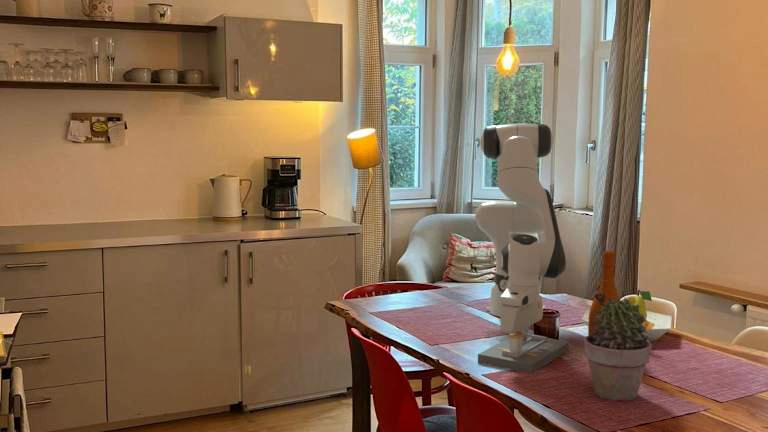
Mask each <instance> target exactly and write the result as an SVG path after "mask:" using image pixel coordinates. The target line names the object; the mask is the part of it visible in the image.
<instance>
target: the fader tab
mask: <svg viewBox="0 0 768 432" xmlns="http://www.w3.org/2000/svg"><path fill="white" fill-rule="evenodd" d="M507 335H508V338H509V351H513V352H518V353H521V352H522V336H523V334H522V333H514V334H509V333H508V334H507Z"/></svg>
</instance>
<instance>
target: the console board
mask: <svg viewBox="0 0 768 432" xmlns="http://www.w3.org/2000/svg"><path fill="white" fill-rule="evenodd" d="M569 350H570V341H567V340H564V339H563V340H561V339H556V338H549V337H547V336H543V335H537V334H533V333H532V334H528V335H527V341H526V342H524V343H522V352H521V353H518V352H513V351H509V337H508V338H506V339H504V340H503V341H500V342H499V343H497V344H495V345H493V346H491V347H488V348H487V349H485V350H483V351H481V352H479V353H478V354H477V364H478V363H479V364H483V365H487V366H494V367H498V368H503V369H508V370H512V371H518V372H522V373H528V374H533V373H535V372H536V371H538V370H539V369H541V368H543V367H545V366H546V365H548V364H549V363H551V362H552V361H554V360H556V359H557V358H559V357H560V356H562V355H563V354H565V353H566V352H568V351H569Z"/></svg>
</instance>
